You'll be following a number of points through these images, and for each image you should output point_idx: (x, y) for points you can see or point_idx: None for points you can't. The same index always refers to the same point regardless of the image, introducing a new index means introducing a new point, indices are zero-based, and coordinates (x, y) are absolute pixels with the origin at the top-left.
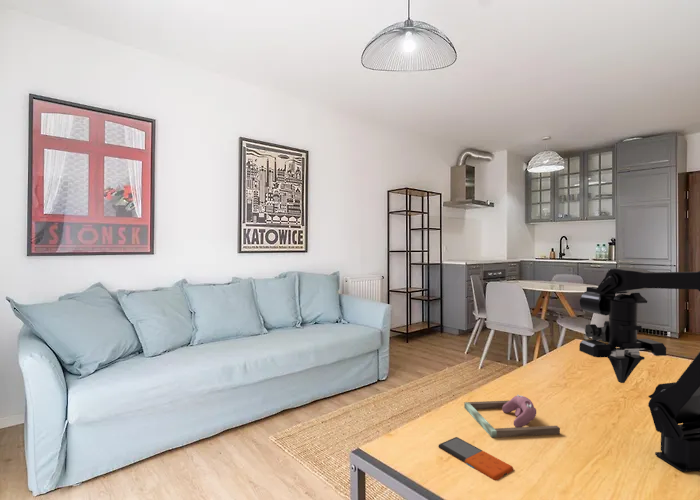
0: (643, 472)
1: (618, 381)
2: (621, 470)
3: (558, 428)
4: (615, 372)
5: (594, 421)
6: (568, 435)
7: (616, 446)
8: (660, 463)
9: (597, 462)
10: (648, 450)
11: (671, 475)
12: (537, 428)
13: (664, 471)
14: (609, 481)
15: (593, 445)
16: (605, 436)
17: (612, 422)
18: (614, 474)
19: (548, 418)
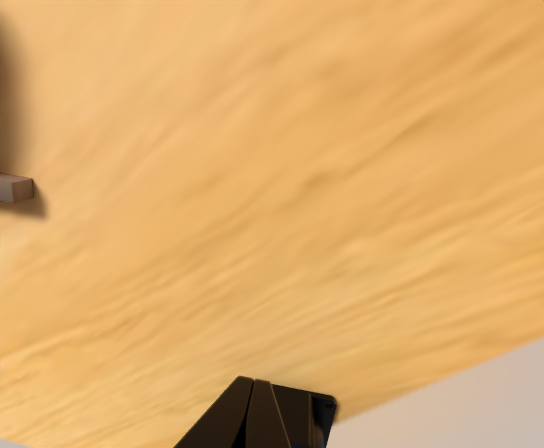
0: (138, 415)
1: (236, 380)
2: (89, 394)
3: (9, 201)
4: (184, 445)
5: (250, 141)
6: (60, 212)
7: (173, 311)
8: None
9: (51, 354)
10: (254, 355)
11: None
12: None
13: None
14: (28, 412)
15: (102, 287)
16: (190, 254)
17: (323, 170)
18: (59, 399)
19: (62, 62)
